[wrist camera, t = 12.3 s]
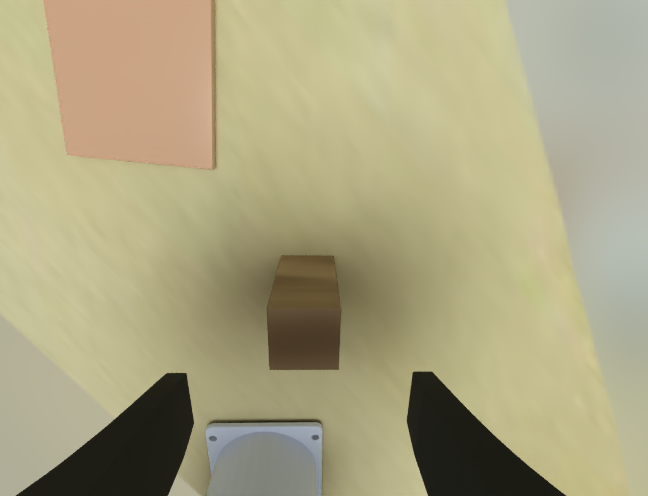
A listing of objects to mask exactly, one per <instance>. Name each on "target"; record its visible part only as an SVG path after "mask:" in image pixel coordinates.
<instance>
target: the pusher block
mask: <svg viewBox="0 0 648 496" xmlns="http://www.w3.org/2000/svg"><path fill="white" fill-rule="evenodd" d="M340 321H341V306H340V299H339V291H338V284H337V277H336V270H335V263H334V256H281V258H280V262H279V266H278V269H277V273H276V277H275V281H274V284H273V288H272V292H271V295H270V299H269V303H268V306H267V324H268V345H269V366H270V370H339V348H340Z"/></svg>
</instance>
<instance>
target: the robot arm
mask: <svg viewBox="0 0 648 496" xmlns="http://www.w3.org/2000/svg"><path fill="white" fill-rule="evenodd" d="M407 424H408V429H409V433H410V438H411V442H412V447H413V451H414V455H415V458H416V461H417V464H418V467H419V470H420V473H421V476H422V479H423V482H424V485H425V488H426V491H427V494H428V496H566V495H564V494H563V493H562V492H560V491H559V490H558V489H557V488H555V487H554V486H553V485H551V484H550V483H549V482H548V481H547V480H545V479H544V478H543V477H542V476H540V475H539V474H538V473H537V472H535V471H534V470H533V469H532V468H530V467H529V466H528V465H527V464H526V463H524V462H523V461H522V460H521V459H520V458H519V457H517V456H516V455H515V454H514V453H513V452H512V451H511V450H510V449H509V448H507V447H506V446H505V445H504V444H503V443H502V442H501V441H500V440H499V439H498V438H496V437H495V436H494V435H493V434H492V433H491V432H490V431H489V430H488V429H487V428H486V427H485V426H484V425H483V424H482V423H481V422H480V421H479V420H478V419H477V418H476V417H475V416H474V415H473V414H472V413H471V412H470V411H469V410H468V409H467V408H466V407H465V406H464V405H463V404H462V403H461V402H460V401H459V400H458V399H457V398H456V397H455V396H454V394H453V393H452V392H451V391H450V390H449V389H448V388H447V387H446V386H445V385H444V384H443V383H442V382H441V381H440V380H439V379H438V378H437V376H436V375H435V374H434V373H433V372H413V376H412V384H411V392H410V399H409V407H408V415H407ZM193 425H194V419H193V413H192V406H191V400H190V394H189V387H188V381H187V374H186V373H167V374H165V375H164V376H163V377H162V378H161V379H160V380H158V381H157V382H156V383H155V384H154V385H153V386H152V387H151V388H150V389H148V390H147V391H146V392H145V393H144V394H143V395H142V396H141V397H139V398H138V399H137V400H136V401H135V402H134V403H133V404H132V405H131V406H129V407H128V408H127V409H126V410H125V411H124V412H123V413H121V414H120V415H119V416H118V417H117V418H116V419H115V420H113V421H112V422H111V423H110V424H109V425H108V426H107V427H105V428H104V429H103V430H102V431H100V432H99V433H98V434H97V435H95V436H94V437H93V438H92V439H91V440H89V441H88V442H87V443H86V444H84V445H83V446H82V447H81V448H79V449H78V450H77V451H76V452H75V453H73V454H72V455H71V456H70V457H68V458H67V459H66V460H64V461H63V462H62V463H60V464H59V465H58V466H57V467H55V468H54V469H52V470H51V471H50V472H48V473H47V474H46V475H44V476H43V477H42V478H40V479H39V480H38V481H36V482H34V483H33V484H32V485H30V486H29V487H28V488H26V489H25V490H23V491H22V492H20V493H19V494H17V495H16V496H168V494H169V492H170V489H171V487H172V485H173V482H174V480H175V477H176V475H177V473H178V470H179V468H180V465H181V463H182V461H183V458H184V455H185V452H186V449H187V445H188V442H189V439H190V435H191V432H192V428H193ZM205 435H206V442H207V449H208V456H209V463H210V470H211V480H210V484H209V487H208V490H207V494H206V496H321V495H322V425H321V424H320V423H317V422H284V423H212V424H209V425H208V426H207V427H206V430H205Z"/></svg>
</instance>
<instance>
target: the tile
mask: <svg viewBox="0 0 648 496" xmlns="http://www.w3.org/2000/svg"><path fill="white" fill-rule="evenodd" d="M44 6H45V13H46V20H47V26H48V33H49V39H50V46H51V53H52V59H53V66H54V72H55V79H56V86H57V92H58V99H59V105H60V112H61V119H62V125H63V132H64V138H65V145H66V152H67V155H73V156H83V157H93V158H103V159H113V160H123V161H133V162H143V163H153V164H163V165H173V166H183V167H193V168H203V169H215V168H216V136H215V0H44Z"/></svg>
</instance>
